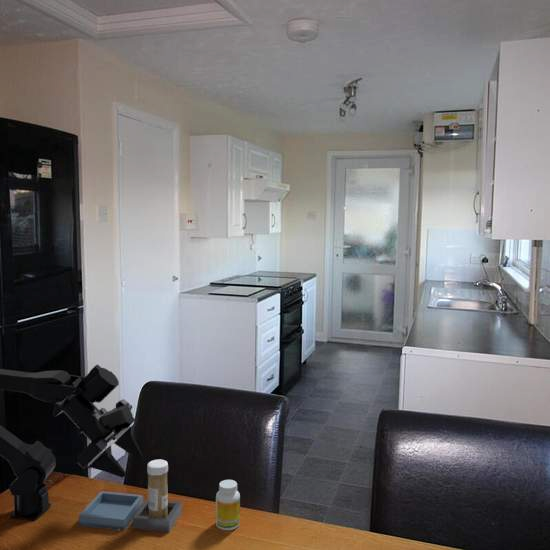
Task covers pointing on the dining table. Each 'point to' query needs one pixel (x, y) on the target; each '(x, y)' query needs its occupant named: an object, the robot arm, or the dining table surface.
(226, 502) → the supplement bottle
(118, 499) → the tray
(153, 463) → the sprinkles bottle
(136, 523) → the bottle holder
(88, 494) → the dining table surface
